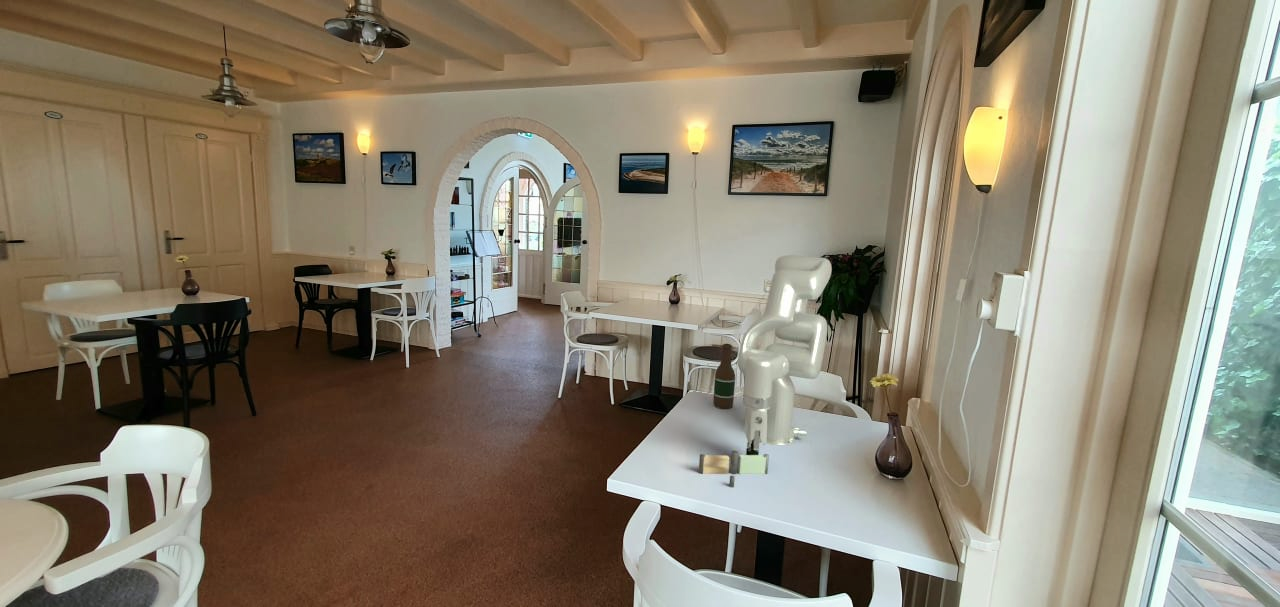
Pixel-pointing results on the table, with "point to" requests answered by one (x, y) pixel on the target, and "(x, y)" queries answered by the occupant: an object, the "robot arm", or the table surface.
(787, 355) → the robot arm
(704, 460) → the wooden bar grey posts
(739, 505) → the table surface
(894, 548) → the table surface
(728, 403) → the beer bottle
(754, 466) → the hinged panel
